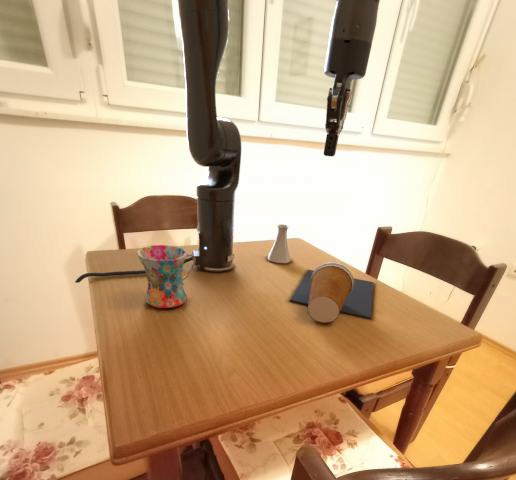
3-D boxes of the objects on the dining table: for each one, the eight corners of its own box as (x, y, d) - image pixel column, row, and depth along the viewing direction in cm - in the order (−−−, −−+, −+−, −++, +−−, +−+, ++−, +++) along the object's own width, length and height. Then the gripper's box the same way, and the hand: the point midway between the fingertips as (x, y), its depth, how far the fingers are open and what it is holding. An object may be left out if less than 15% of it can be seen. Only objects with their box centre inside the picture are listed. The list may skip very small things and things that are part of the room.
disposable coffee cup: (349, 329, 63) (355, 297, 71) (346, 288, 57) (353, 258, 65) (303, 328, 67) (314, 297, 75) (296, 290, 61) (309, 261, 69)
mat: (370, 319, 67) (370, 317, 67) (290, 301, 71) (290, 299, 71) (372, 283, 85) (373, 282, 85) (308, 270, 89) (308, 269, 89)
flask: (292, 258, 97) (297, 224, 92) (288, 265, 91) (293, 230, 86) (269, 254, 98) (273, 221, 93) (264, 261, 92) (268, 226, 87)
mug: (157, 316, 61) (151, 263, 55) (135, 298, 66) (128, 248, 60) (208, 301, 68) (207, 253, 62) (185, 286, 73) (182, 240, 67)
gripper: (334, 49, 61) (316, 153, 70) (323, 29, 50) (304, 154, 60) (373, 51, 59) (350, 157, 69) (370, 30, 48) (343, 159, 58)
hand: (328, 155), depth 64 cm, fingers closed
